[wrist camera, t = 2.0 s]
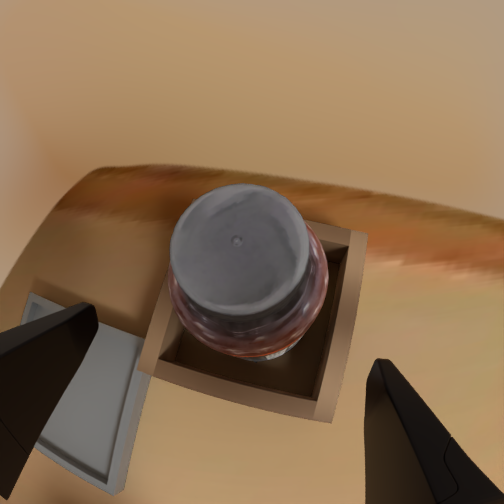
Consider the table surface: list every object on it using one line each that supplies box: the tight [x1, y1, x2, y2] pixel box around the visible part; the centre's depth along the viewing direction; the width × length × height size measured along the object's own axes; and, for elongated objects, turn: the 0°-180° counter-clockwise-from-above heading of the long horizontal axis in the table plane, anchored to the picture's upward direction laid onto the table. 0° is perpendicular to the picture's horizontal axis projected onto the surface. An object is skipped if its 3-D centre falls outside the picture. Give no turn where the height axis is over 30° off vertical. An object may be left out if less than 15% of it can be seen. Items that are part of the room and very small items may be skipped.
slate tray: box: [20, 292, 151, 496], centre depth 17 cm, size 11×11×2 cm
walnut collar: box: [137, 199, 368, 423], centre depth 18 cm, size 10×10×3 cm
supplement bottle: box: [168, 183, 329, 363], centre depth 14 cm, size 6×6×11 cm
